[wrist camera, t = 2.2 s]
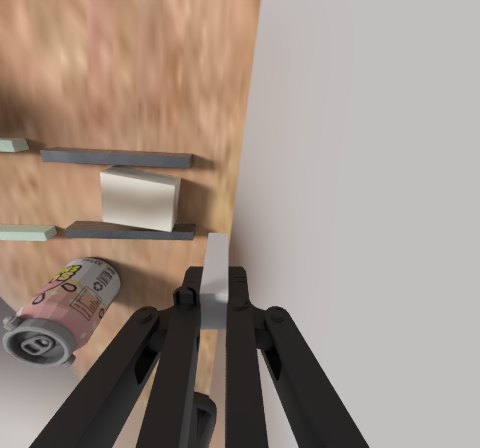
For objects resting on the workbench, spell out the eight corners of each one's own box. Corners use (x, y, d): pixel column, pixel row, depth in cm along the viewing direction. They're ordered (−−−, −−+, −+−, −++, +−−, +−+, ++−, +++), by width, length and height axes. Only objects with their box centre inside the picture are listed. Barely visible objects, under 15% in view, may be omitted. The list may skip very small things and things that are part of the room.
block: (177, 218, 32) (170, 232, 28) (117, 209, 31) (102, 221, 27) (181, 177, 29) (174, 185, 26) (116, 165, 28) (100, 172, 25)
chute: (195, 231, 32) (193, 240, 30) (78, 228, 31) (67, 237, 29) (192, 153, 28) (189, 157, 26) (55, 147, 27) (39, 150, 24)
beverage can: (90, 307, 37) (35, 384, 27) (48, 272, 34) (-35, 345, 23) (134, 284, 36) (95, 356, 25) (95, 245, 32) (30, 309, 22)
